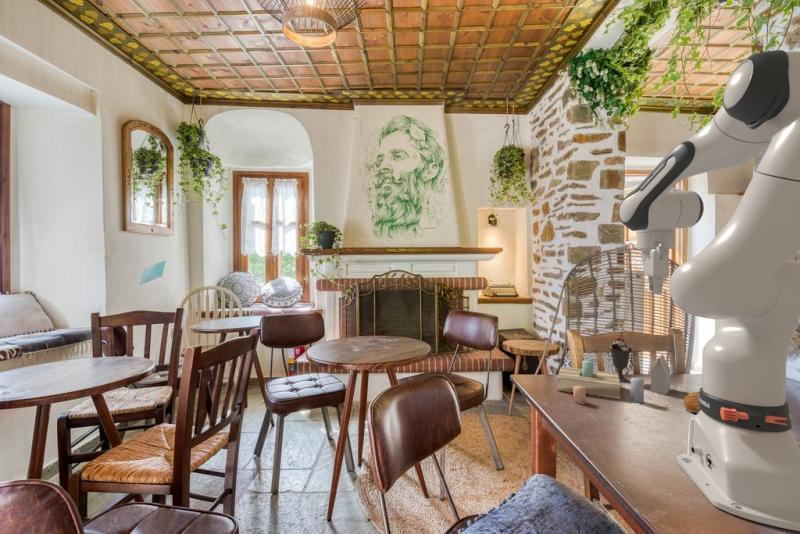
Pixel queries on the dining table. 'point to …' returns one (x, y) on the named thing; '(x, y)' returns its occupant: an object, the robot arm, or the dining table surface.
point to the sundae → (620, 356)
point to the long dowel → (587, 369)
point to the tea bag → (660, 376)
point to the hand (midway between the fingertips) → (655, 292)
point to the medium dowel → (637, 390)
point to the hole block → (590, 382)
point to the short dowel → (579, 394)
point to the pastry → (692, 402)
